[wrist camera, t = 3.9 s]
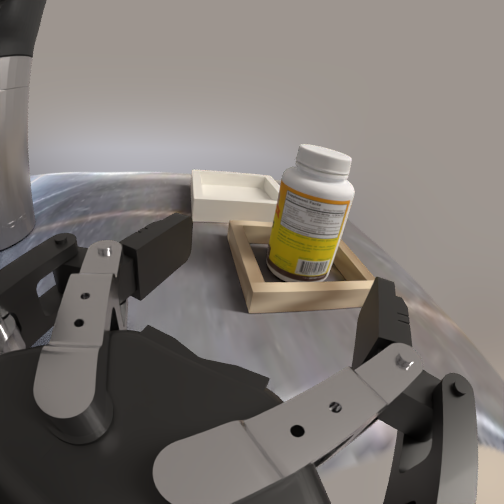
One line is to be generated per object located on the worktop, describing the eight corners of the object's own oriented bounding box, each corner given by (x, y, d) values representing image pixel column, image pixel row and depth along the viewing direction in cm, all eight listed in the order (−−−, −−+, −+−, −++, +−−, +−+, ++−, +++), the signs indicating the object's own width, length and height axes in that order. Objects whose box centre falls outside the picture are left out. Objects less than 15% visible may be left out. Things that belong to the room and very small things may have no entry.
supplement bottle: (287, 246, 28) (311, 141, 23) (337, 272, 25) (372, 162, 20) (250, 265, 24) (273, 140, 19) (306, 299, 21) (346, 164, 16)
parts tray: (192, 221, 29) (193, 198, 28) (190, 186, 38) (191, 169, 37) (292, 226, 32) (297, 205, 31) (267, 192, 41) (270, 175, 40)
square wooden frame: (248, 313, 19) (253, 292, 18) (227, 237, 27) (229, 219, 27) (374, 305, 22) (383, 287, 21) (324, 241, 30) (329, 226, 29)
